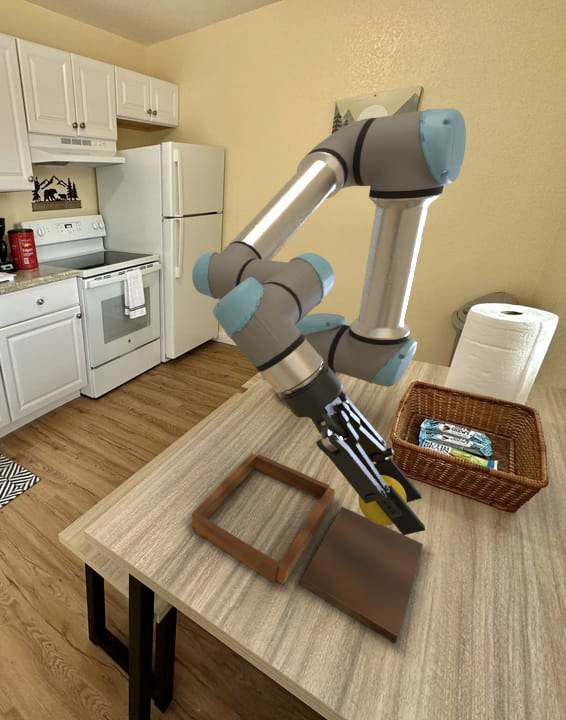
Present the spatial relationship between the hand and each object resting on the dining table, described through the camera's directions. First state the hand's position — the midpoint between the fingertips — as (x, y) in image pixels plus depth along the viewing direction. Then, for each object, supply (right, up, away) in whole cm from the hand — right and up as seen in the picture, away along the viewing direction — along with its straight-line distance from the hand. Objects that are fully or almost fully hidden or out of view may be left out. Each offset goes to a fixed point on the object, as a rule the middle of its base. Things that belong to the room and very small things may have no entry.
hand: (412, 514), depth 51 cm
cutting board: (-3, -11, +7) cm, 13 cm away
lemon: (-3, -3, +3) cm, 5 cm away
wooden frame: (-15, -7, +17) cm, 23 cm away
